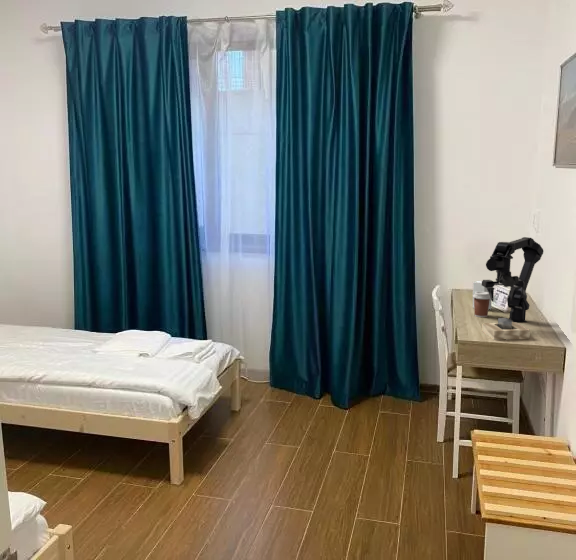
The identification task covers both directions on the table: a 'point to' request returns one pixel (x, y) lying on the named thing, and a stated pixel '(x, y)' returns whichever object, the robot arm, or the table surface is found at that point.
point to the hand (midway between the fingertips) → (501, 301)
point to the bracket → (504, 323)
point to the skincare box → (479, 290)
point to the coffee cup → (481, 303)
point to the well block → (505, 331)
